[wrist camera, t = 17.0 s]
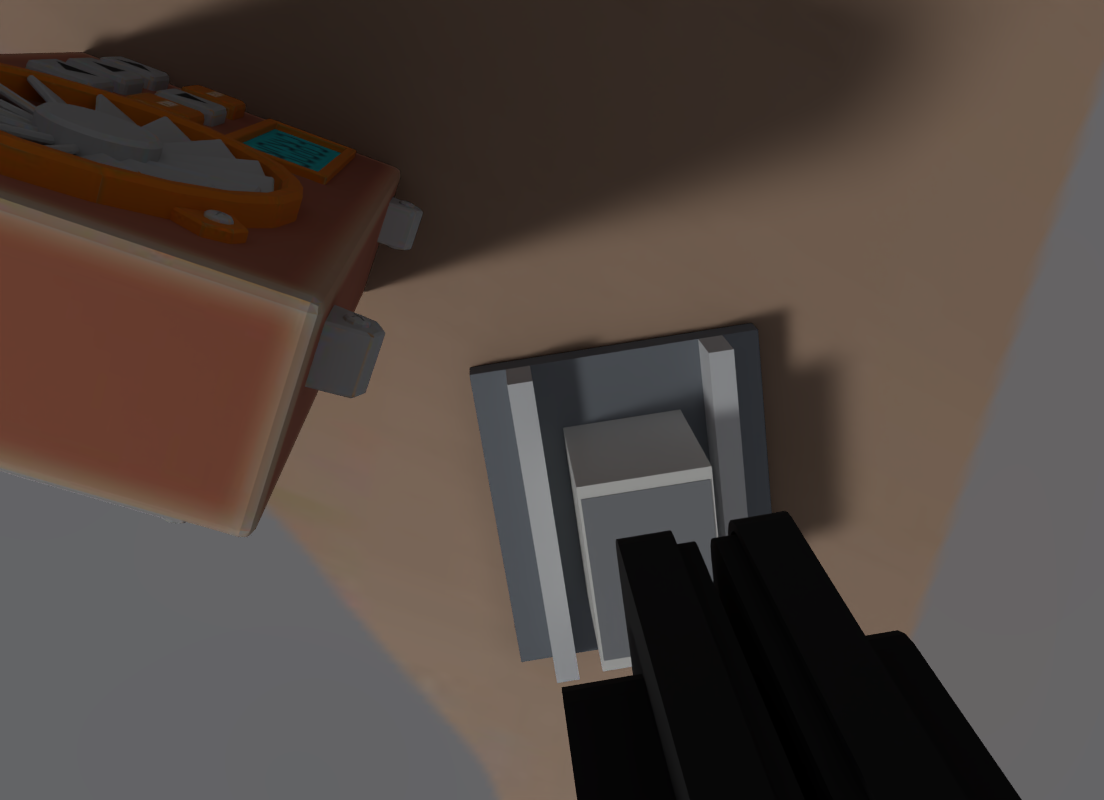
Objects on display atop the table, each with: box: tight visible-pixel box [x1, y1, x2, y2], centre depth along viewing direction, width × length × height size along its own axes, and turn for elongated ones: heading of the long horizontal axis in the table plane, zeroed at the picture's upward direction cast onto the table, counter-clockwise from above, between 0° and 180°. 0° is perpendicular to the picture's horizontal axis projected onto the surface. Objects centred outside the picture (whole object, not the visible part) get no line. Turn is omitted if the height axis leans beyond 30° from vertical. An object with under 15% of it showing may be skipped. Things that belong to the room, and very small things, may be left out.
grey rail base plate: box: [470, 323, 772, 683], centre depth 43 cm, size 14×12×3 cm
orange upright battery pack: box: [0, 52, 423, 537], centre depth 29 cm, size 21×7×15 cm
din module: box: [563, 409, 718, 671], centre depth 41 cm, size 8×5×6 cm, turn 8°
